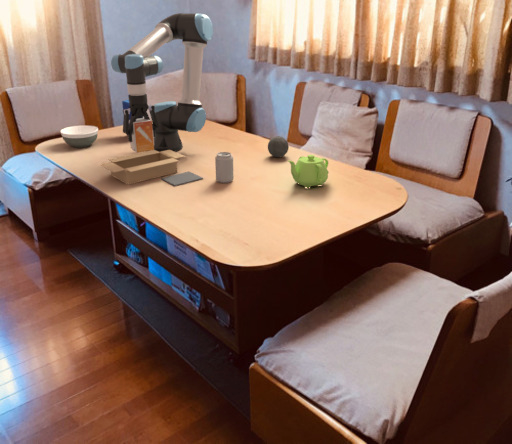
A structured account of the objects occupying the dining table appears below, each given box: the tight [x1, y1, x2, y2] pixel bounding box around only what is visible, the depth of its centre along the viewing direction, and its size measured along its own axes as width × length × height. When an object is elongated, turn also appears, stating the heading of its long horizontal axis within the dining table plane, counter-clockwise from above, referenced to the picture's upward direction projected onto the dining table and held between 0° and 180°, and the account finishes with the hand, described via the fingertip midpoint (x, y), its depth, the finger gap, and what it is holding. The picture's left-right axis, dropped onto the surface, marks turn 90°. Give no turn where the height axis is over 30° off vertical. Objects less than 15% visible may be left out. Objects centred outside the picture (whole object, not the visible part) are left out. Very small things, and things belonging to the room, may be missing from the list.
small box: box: [129, 117, 154, 154], centre depth 227 cm, size 8×6×13 cm
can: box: [214, 151, 235, 184], centre depth 224 cm, size 8×8×12 cm
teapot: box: [288, 154, 329, 188], centre depth 219 cm, size 16×14×13 cm
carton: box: [99, 150, 186, 185], centre depth 233 cm, size 34×21×6 cm, turn 129°
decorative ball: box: [267, 135, 289, 158], centre depth 255 cm, size 10×10×10 cm
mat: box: [160, 171, 204, 187], centre depth 228 cm, size 14×11×1 cm
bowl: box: [59, 125, 99, 149], centre depth 273 cm, size 19×19×8 cm
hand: (142, 146), depth 229 cm, fingers closed on small box, 8 cm apart
